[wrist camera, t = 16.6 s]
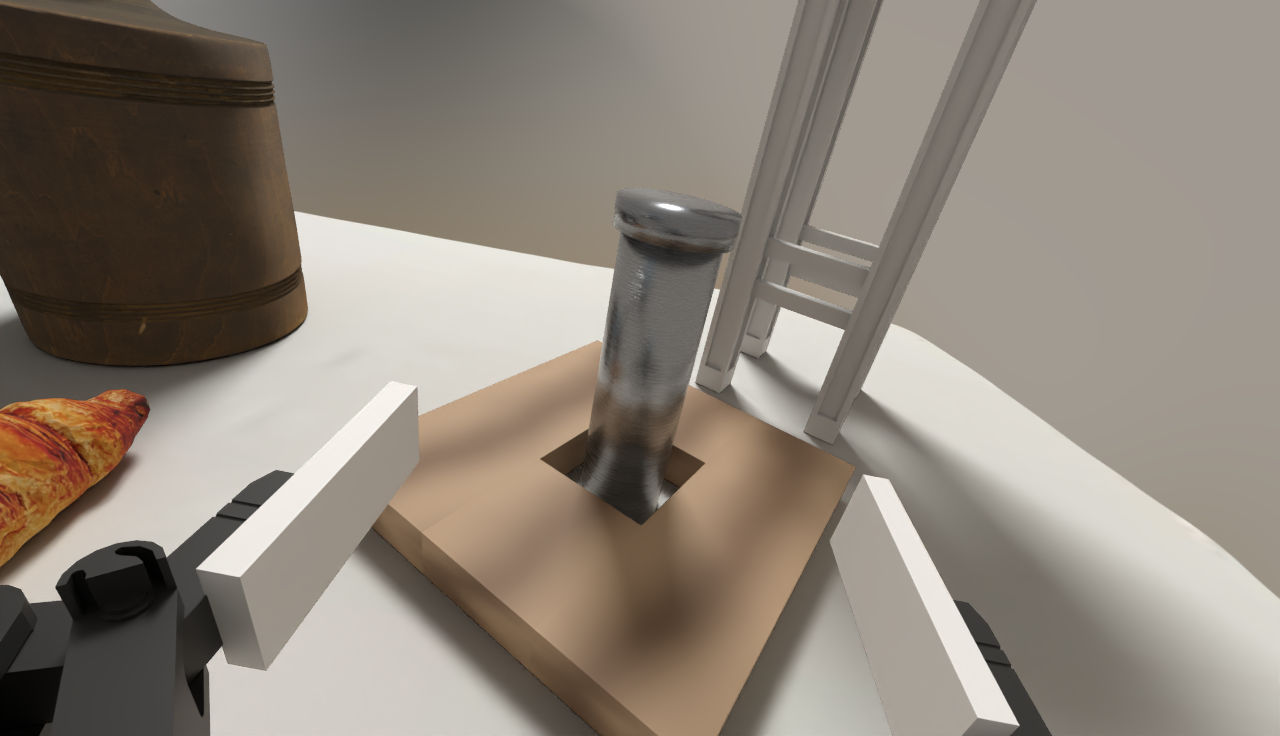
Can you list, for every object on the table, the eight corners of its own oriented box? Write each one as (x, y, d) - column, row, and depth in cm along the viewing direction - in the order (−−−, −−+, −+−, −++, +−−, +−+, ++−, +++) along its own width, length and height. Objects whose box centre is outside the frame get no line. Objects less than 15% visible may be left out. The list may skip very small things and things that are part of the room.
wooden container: (221, 265, 45) (153, -51, 34) (352, 316, 41) (321, -20, 31) (-31, 317, 32) (-258, -157, 22) (127, 397, 28) (-56, -128, 18)
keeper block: (335, 493, 25) (329, 453, 24) (593, 368, 40) (597, 340, 39) (681, 809, 16) (698, 770, 15) (840, 497, 32) (856, 466, 31)
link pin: (550, 496, 28) (590, 190, 20) (609, 454, 32) (660, 186, 24) (628, 549, 25) (705, 228, 18) (680, 497, 29) (762, 216, 22)
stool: (734, 329, 53) (865, -113, 36) (887, 390, 47) (1128, -108, 30) (661, 380, 41) (807, -250, 24) (855, 471, 35) (1228, -287, 18)
